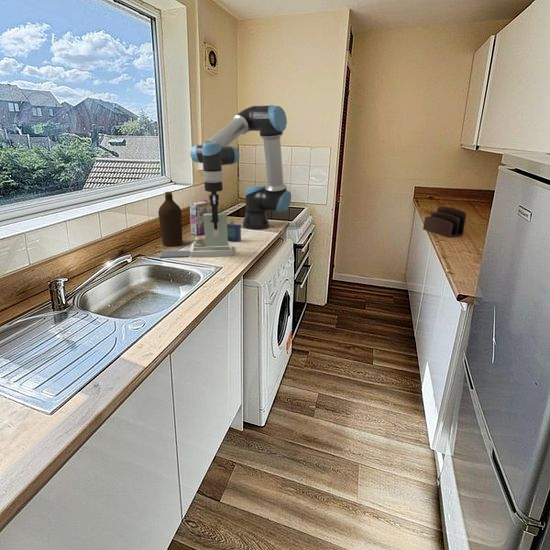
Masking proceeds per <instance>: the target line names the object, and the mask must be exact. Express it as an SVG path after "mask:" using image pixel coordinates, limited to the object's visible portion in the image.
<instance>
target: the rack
mask: <svg viewBox="0 0 550 550" xmlns="http://www.w3.org/2000/svg"><path fill="white" fill-rule="evenodd" d="M189 251H190V253H189V256H190V258H198V257H201V258H202V257H205V258H206V257H233V246H232V241H231V242H229V241H228V246H209V247H196V244H195V242H192V243H191V245H190V250H189Z"/></svg>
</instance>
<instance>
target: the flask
mask: <svg viewBox="0 0 550 550" xmlns="http://www.w3.org/2000/svg"><path fill="white" fill-rule="evenodd" d="M241 228H242V225H241V223H234V220H233V219H230V220H229V221H227V234H228V242H231V243H232V242H233V243H240V242H242V229H241Z"/></svg>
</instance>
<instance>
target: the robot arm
mask: <svg viewBox="0 0 550 550" xmlns="http://www.w3.org/2000/svg"><path fill="white" fill-rule="evenodd" d="M286 114H287V113H286V112H285V110H284V109H283V108H282V107H281V106H279V105H272V104H271V105H252V106H250V107H247V108H245V109H242V110H241V111H239V112H238V113H236V115H234V116H233V117H232V120H231V121H230V122H229V123H228V124H227V125H225V126H224V127H223V128H222V129H220V130H219V131H217V132H216V133H215V134H213V135H212V136H211V137H209V138H208V139H207V140H206V141H205V142H203V143H202V144H196V145H193V146H192V147H191V148H190V150H189V151H190V152H189V153H190V154H189V155H190V158H191V160H192V161H193V162H194V163H198V164H199V163H200V164H203V173H202V176H204V177H203V180H204V181H205V182H203V183H204V191H206V192H210V193H211V194H209V195H208V196H209V200H210V201H209V202H210V207H211V214H212V221H211V222H212V226H213V237H217V236H219V222H218V221H219V220H218V213H219V211H218V210H219V209H218V208H219V206H220V205H219V200H220V197H219V196H220V195H219V194H218V193H217V192H222V191H223V190H224V189H223V168H222V166H228V165H229V166H231V165H233V164H234V165H235V164H236V163H238V162H239V160H240V156H241V155H240V151H239V150H238V147H236V146H233V145H231V144H232V143H233V142H235V140H236V139H238V138H239V137H240V136H241V135H246V134H247V133H249V132H254V131H255V132H259V136H260V137H261V139H263V148H264V149H263V151H264V158H265V159H264V161H265V169H266V171H265V173H266V182H267V183H266V184H267V185H256V186H254V185H253V186H248V187H246V189H245V215H244V218H243V220H242V221H243V222H242V227H243V228H244V229H247V230H248V229H249V230H263V229H264V230H265V229H267V228H269V225H270V223H269V222H270V221H269V218H268V216H267V211H271V212H277V213H284V212H286V211H288V209H289V208H290V206H291V202H292V193H291V192H290V191H289V190H287V185H286V184H285V183H284V175H283V174H284V173H283V160H282V159H283V157H282V147H281V146H282V143H281V137H282V136H283V135H284V133H283V132H284V131H285V130H286V128H287V125H288V119H287V115H286Z"/></svg>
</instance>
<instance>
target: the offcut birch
mask: <svg viewBox="0 0 550 550" xmlns="http://www.w3.org/2000/svg"><path fill="white" fill-rule="evenodd" d="M194 243H195V244H196V246H205V236H195V237H194Z"/></svg>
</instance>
